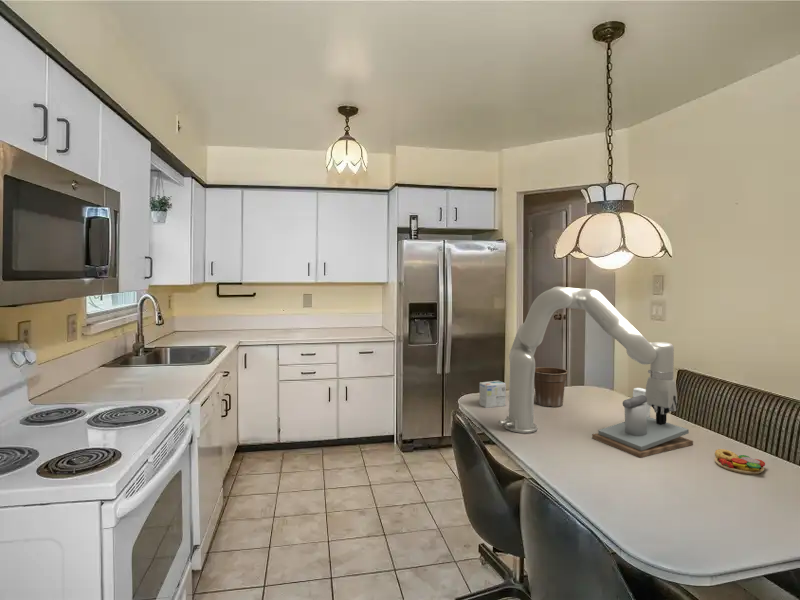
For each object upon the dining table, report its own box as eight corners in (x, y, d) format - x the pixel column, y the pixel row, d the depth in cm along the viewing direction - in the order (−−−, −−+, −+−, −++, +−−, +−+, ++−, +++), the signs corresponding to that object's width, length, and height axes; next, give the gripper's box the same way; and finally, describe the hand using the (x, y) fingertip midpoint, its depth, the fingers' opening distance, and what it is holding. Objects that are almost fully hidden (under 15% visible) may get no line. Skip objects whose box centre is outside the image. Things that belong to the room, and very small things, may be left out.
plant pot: (524, 403, 218) (524, 369, 217) (543, 397, 229) (543, 365, 228) (555, 411, 206) (555, 375, 205) (573, 404, 217) (574, 370, 216)
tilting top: (641, 451, 155) (640, 409, 154) (598, 434, 172) (596, 396, 170) (688, 433, 166) (687, 394, 164) (643, 418, 182) (642, 383, 181)
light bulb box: (498, 402, 220) (498, 380, 219) (506, 406, 213) (506, 383, 213) (478, 404, 216) (478, 381, 215) (486, 408, 210) (486, 385, 209)
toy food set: (714, 455, 156) (714, 446, 156) (763, 465, 149) (764, 455, 149) (714, 469, 146) (714, 459, 145) (767, 480, 138) (767, 469, 138)
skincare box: (631, 415, 199) (632, 388, 199) (637, 414, 202) (638, 387, 201) (644, 419, 194) (645, 391, 193) (650, 418, 196) (651, 390, 196)
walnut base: (639, 457, 154) (640, 453, 154) (592, 438, 172) (592, 434, 172) (692, 444, 166) (693, 440, 166) (642, 427, 184) (643, 424, 184)
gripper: (636, 372, 177) (636, 419, 178) (674, 380, 163) (673, 431, 164) (649, 370, 180) (649, 416, 181) (688, 378, 166) (687, 427, 167)
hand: (661, 423), depth 173 cm, fingers closed
